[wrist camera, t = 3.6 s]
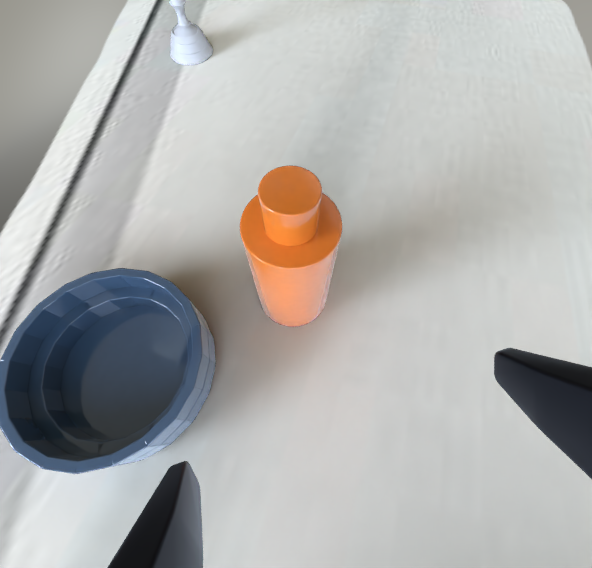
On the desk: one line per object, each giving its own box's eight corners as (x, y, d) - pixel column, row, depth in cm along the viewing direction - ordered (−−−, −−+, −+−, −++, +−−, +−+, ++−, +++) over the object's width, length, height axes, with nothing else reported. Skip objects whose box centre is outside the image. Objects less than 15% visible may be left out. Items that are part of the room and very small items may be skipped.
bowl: (232, 301, 24) (220, 278, 21) (192, 477, 20) (169, 488, 16) (86, 284, 25) (50, 259, 21) (13, 450, 20) (-49, 455, 17)
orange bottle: (329, 269, 26) (353, 150, 15) (323, 331, 23) (346, 246, 13) (265, 262, 26) (242, 140, 15) (254, 322, 24) (217, 233, 13)
